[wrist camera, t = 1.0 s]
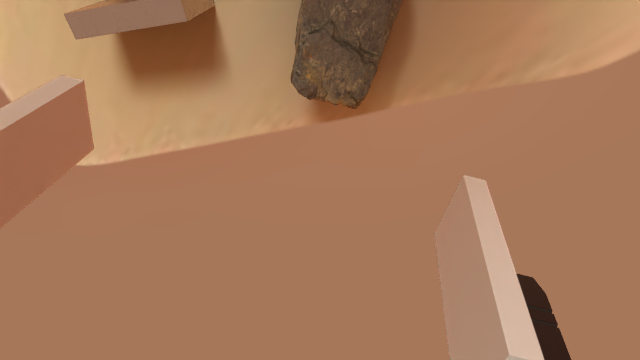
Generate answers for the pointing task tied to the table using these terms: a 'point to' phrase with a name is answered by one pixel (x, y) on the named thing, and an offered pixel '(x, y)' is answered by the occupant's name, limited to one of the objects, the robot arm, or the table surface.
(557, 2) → the table surface
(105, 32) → the grey piece
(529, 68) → the table surface
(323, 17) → the rock
